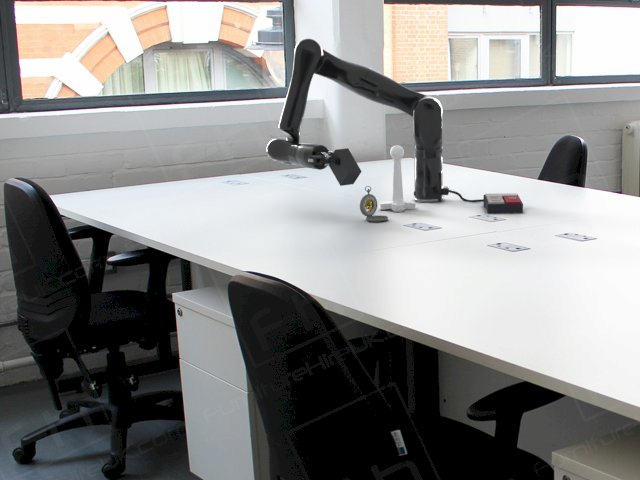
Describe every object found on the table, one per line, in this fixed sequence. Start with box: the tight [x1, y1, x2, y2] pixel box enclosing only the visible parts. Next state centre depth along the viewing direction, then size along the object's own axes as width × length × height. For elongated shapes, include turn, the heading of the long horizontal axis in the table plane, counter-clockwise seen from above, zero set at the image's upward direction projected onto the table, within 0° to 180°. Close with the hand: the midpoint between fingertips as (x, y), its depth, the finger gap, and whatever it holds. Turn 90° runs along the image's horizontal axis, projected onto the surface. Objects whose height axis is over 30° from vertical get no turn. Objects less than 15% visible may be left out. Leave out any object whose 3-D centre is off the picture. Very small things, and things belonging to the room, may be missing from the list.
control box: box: [482, 192, 524, 215], centre depth 331 cm, size 11×4×15 cm
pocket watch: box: [359, 185, 389, 223], centre depth 316 cm, size 8×8×10 cm
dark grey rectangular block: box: [328, 148, 362, 187], centre depth 319 cm, size 6×5×9 cm
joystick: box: [379, 144, 417, 213], centre depth 330 cm, size 11×8×20 cm
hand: (345, 161), depth 318 cm, fingers closed on dark grey rectangular block, 5 cm apart
